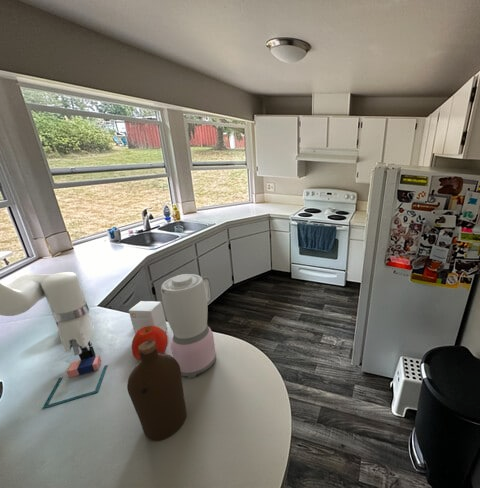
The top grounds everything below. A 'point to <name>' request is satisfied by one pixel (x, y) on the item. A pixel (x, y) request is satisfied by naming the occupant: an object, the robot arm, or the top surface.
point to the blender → (189, 322)
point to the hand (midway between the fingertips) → (88, 358)
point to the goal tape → (72, 397)
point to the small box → (147, 315)
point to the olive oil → (157, 393)
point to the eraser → (84, 366)
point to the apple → (149, 339)
